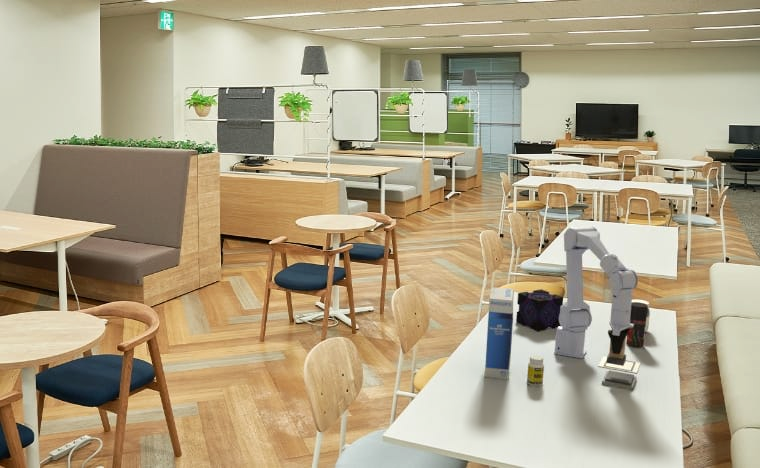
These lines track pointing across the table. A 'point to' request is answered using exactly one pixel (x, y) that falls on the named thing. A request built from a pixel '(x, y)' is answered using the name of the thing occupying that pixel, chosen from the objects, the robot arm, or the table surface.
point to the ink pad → (619, 380)
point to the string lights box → (499, 333)
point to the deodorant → (637, 325)
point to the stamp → (617, 356)
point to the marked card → (628, 365)
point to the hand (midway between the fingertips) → (617, 351)
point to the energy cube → (539, 310)
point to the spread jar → (647, 313)
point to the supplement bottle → (535, 371)
